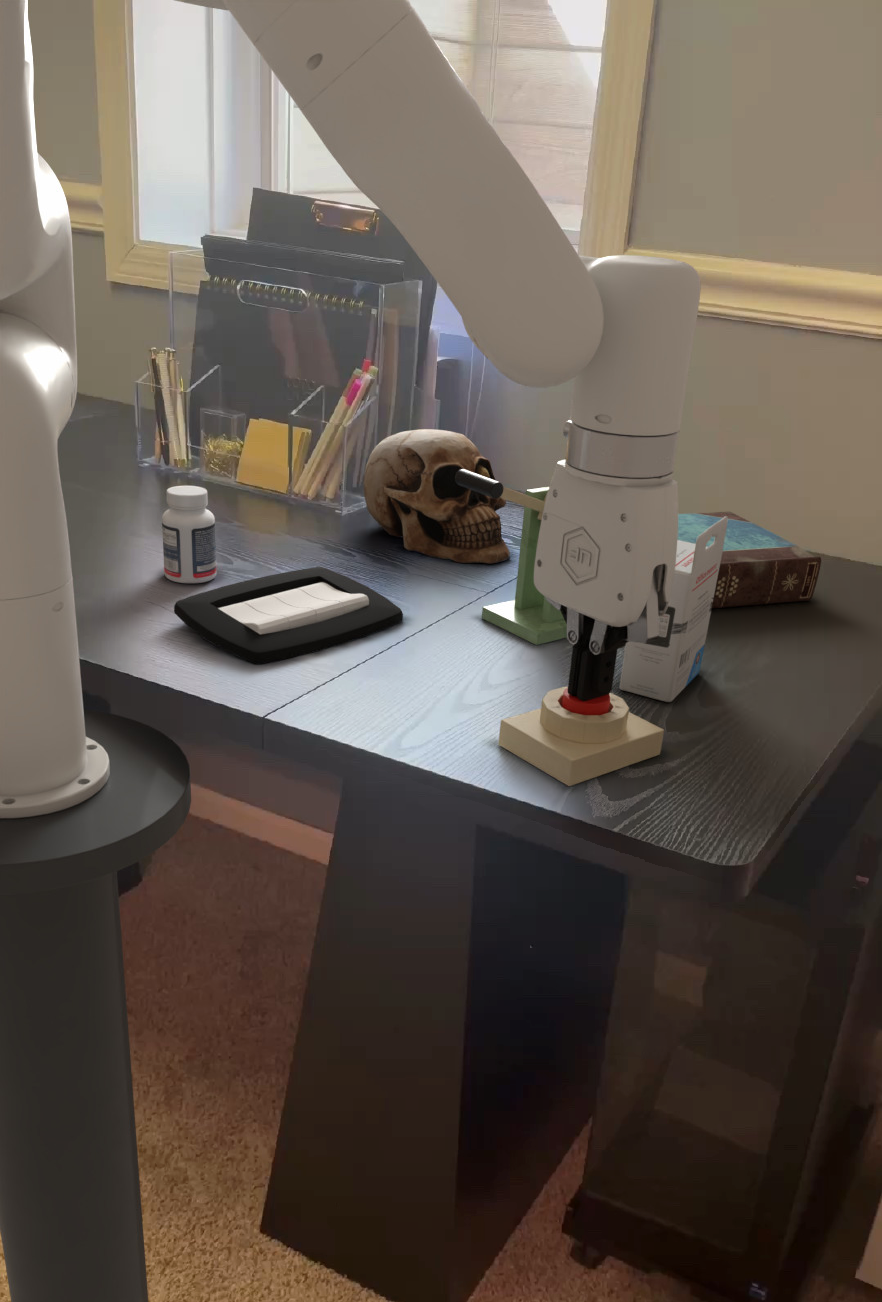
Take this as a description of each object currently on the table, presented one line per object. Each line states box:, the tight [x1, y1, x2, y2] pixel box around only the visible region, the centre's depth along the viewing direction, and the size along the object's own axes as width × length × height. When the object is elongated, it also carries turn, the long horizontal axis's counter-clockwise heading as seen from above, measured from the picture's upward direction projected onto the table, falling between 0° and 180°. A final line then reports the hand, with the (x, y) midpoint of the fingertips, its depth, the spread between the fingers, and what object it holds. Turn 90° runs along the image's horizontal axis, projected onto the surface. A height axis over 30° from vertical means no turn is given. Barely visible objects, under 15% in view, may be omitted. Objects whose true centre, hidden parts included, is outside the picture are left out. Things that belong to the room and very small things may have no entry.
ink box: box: [619, 516, 728, 703], centre depth 103 cm, size 9×5×15 cm, turn 151°
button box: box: [498, 685, 665, 787], centre depth 93 cm, size 10×8×4 cm
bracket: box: [481, 486, 567, 646], centre depth 115 cm, size 10×8×13 cm
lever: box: [455, 469, 547, 520], centre depth 109 cm, size 13×5×2 cm, turn 129°
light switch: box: [173, 566, 404, 665], centre depth 113 cm, size 20×3×14 cm
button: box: [562, 688, 610, 715], centre depth 92 cm, size 4×4×2 cm
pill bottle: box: [161, 485, 218, 584], centre depth 121 cm, size 5×5×9 cm
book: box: [677, 511, 822, 609], centre depth 131 cm, size 23×18×5 cm
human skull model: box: [363, 428, 511, 565], centre depth 137 cm, size 16×17×13 cm
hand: (589, 693), depth 91 cm, fingers closed
